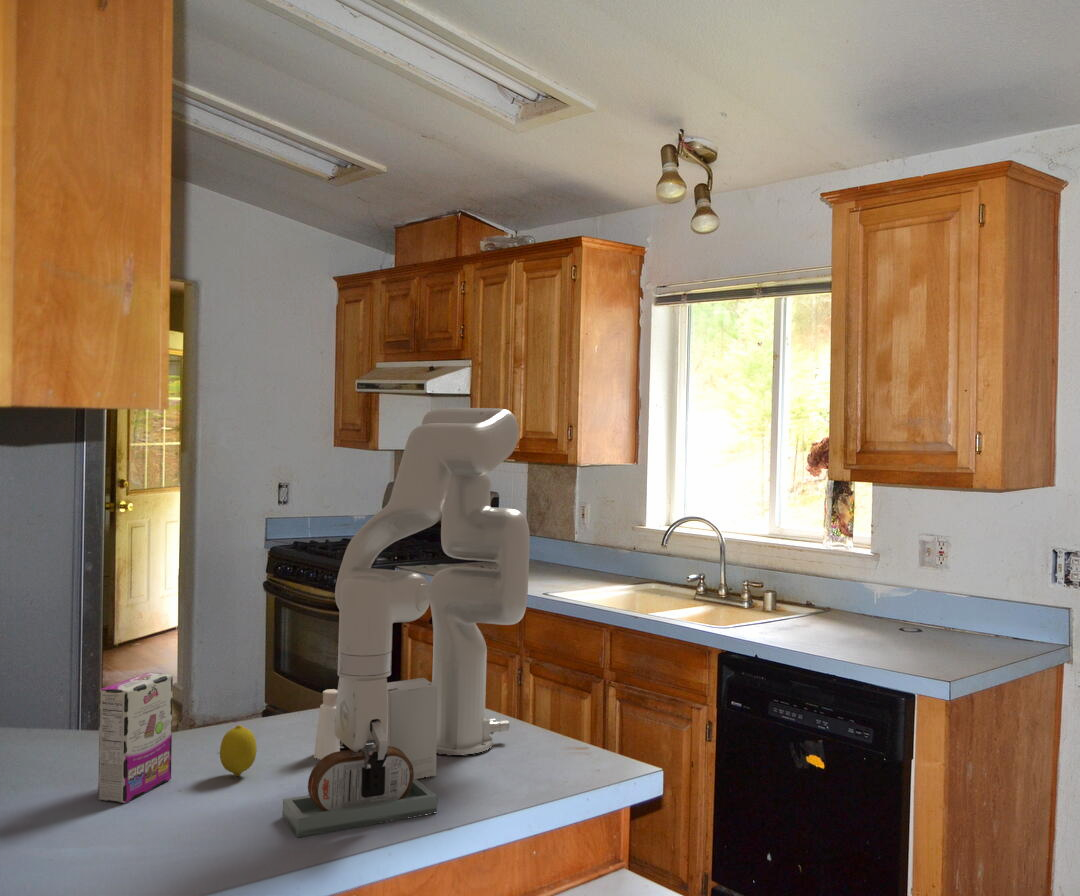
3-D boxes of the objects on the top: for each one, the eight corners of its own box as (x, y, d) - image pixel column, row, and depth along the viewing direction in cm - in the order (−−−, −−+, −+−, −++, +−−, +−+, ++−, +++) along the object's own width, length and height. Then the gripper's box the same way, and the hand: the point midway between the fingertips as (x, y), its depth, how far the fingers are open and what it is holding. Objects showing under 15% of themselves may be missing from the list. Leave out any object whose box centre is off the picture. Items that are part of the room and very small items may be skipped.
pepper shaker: (307, 759, 158) (309, 693, 158) (320, 749, 163) (322, 686, 164) (338, 761, 157) (340, 695, 157) (350, 752, 162) (352, 688, 163)
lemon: (242, 768, 153) (244, 718, 153) (262, 775, 149) (264, 725, 149) (211, 776, 149) (213, 725, 149) (231, 784, 145) (233, 732, 145)
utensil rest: (415, 795, 142) (416, 778, 142) (436, 813, 135) (437, 795, 135) (282, 817, 132) (282, 799, 133) (297, 837, 126) (298, 818, 126)
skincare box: (423, 766, 156) (425, 676, 156) (437, 777, 151) (440, 684, 151) (374, 773, 152) (377, 681, 152) (387, 785, 146) (390, 689, 147)
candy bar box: (143, 776, 148) (147, 671, 148) (172, 780, 146) (175, 673, 147) (94, 801, 137) (98, 687, 137) (124, 805, 136) (128, 690, 136)
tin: (407, 798, 139) (409, 740, 139) (415, 805, 136) (417, 746, 136) (306, 814, 132) (308, 753, 132) (312, 822, 129) (314, 760, 129)
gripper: (321, 654, 140) (317, 770, 140) (359, 679, 125) (355, 809, 125) (369, 650, 144) (366, 763, 143) (412, 674, 129) (408, 800, 128)
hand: (361, 784), depth 134 cm, fingers open, 9 cm apart
